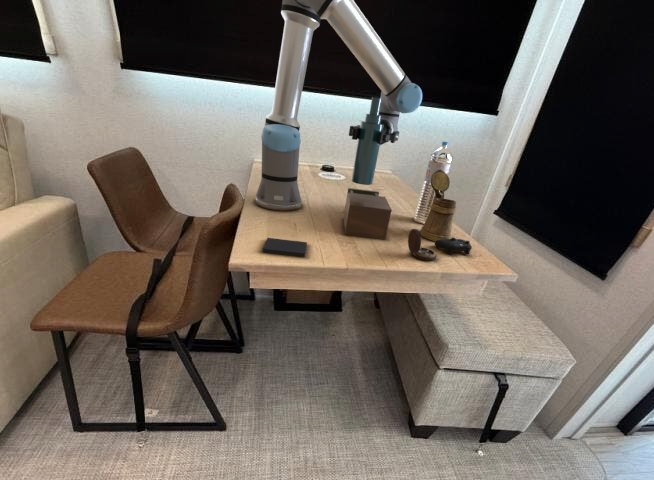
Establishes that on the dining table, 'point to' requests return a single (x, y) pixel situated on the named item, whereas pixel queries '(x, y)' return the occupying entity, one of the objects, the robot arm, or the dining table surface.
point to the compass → (419, 246)
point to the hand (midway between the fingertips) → (366, 136)
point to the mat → (285, 247)
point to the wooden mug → (439, 210)
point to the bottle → (368, 145)
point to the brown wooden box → (366, 216)
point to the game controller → (454, 245)
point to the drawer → (362, 192)
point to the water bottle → (436, 162)
